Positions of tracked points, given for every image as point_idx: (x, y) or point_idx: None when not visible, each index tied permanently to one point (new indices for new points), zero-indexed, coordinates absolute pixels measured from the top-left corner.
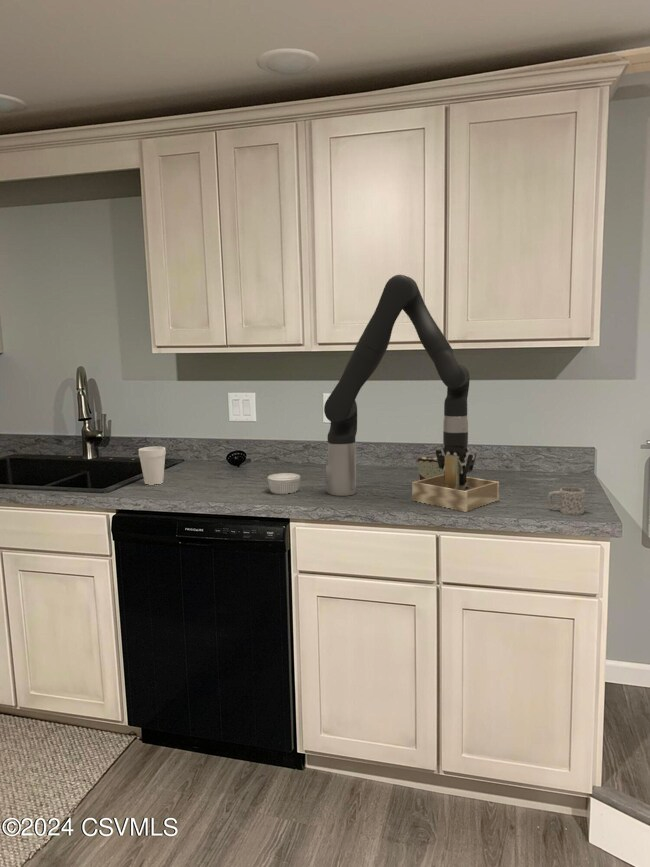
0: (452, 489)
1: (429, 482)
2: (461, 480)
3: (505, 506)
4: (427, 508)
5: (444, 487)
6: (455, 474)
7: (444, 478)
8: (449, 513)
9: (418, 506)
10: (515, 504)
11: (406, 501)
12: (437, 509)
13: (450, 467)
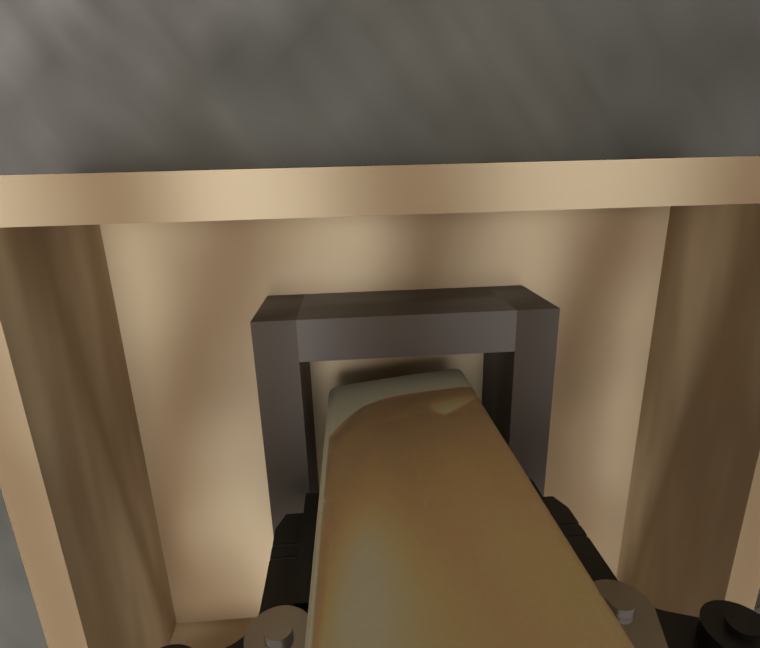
0: (163, 185)
1: (724, 437)
2: (300, 536)
3: (10, 542)
4: (416, 30)
5: (331, 210)
6: (331, 526)
7: (570, 515)
8: (134, 22)
9: (528, 32)
10: (10, 625)
11: (721, 112)
12: (321, 70)
13: (447, 600)
